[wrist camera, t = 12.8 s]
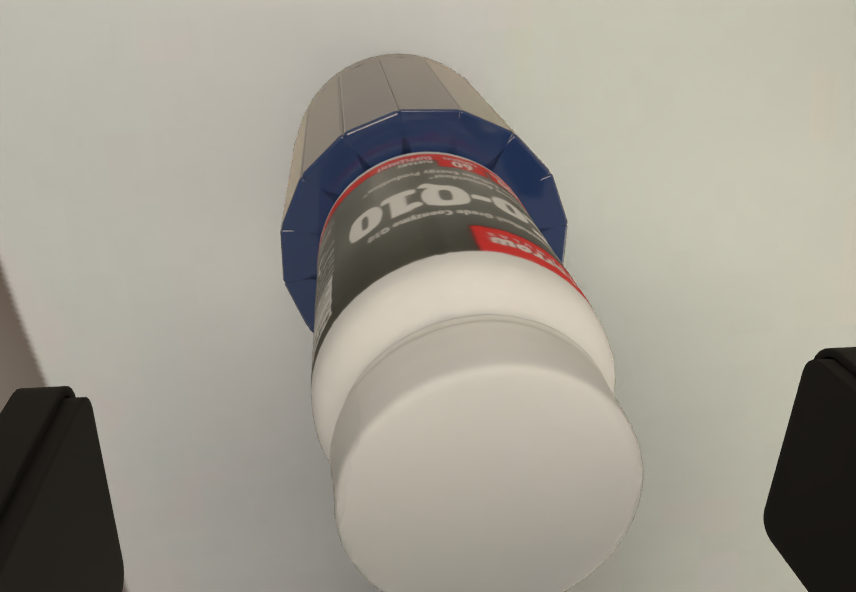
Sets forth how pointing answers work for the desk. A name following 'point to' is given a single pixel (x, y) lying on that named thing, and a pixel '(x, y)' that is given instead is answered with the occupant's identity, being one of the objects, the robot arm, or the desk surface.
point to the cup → (398, 151)
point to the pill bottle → (463, 389)
